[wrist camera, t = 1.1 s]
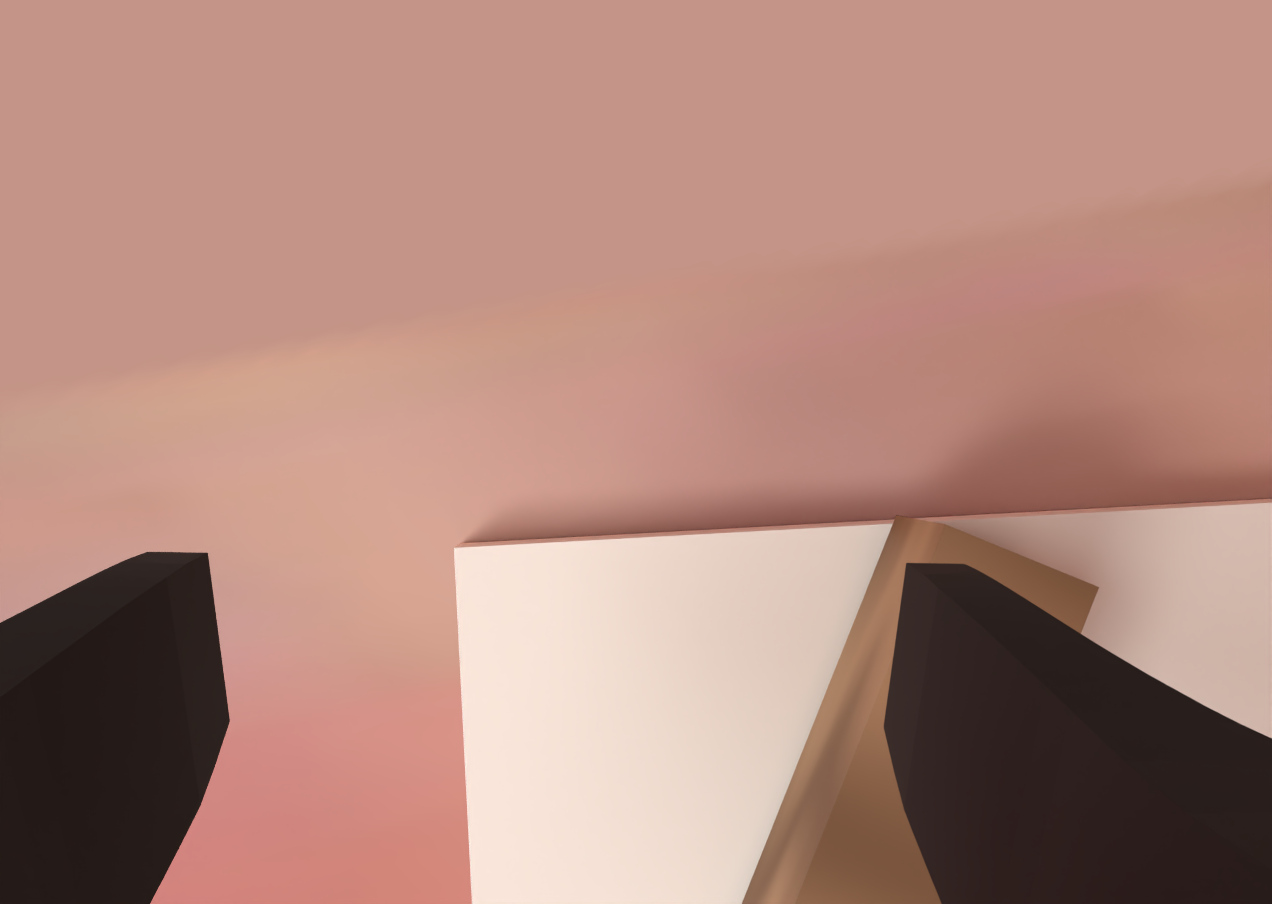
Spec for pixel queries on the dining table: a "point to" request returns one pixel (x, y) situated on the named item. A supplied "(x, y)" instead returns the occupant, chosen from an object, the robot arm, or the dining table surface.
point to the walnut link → (879, 738)
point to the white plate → (767, 676)
